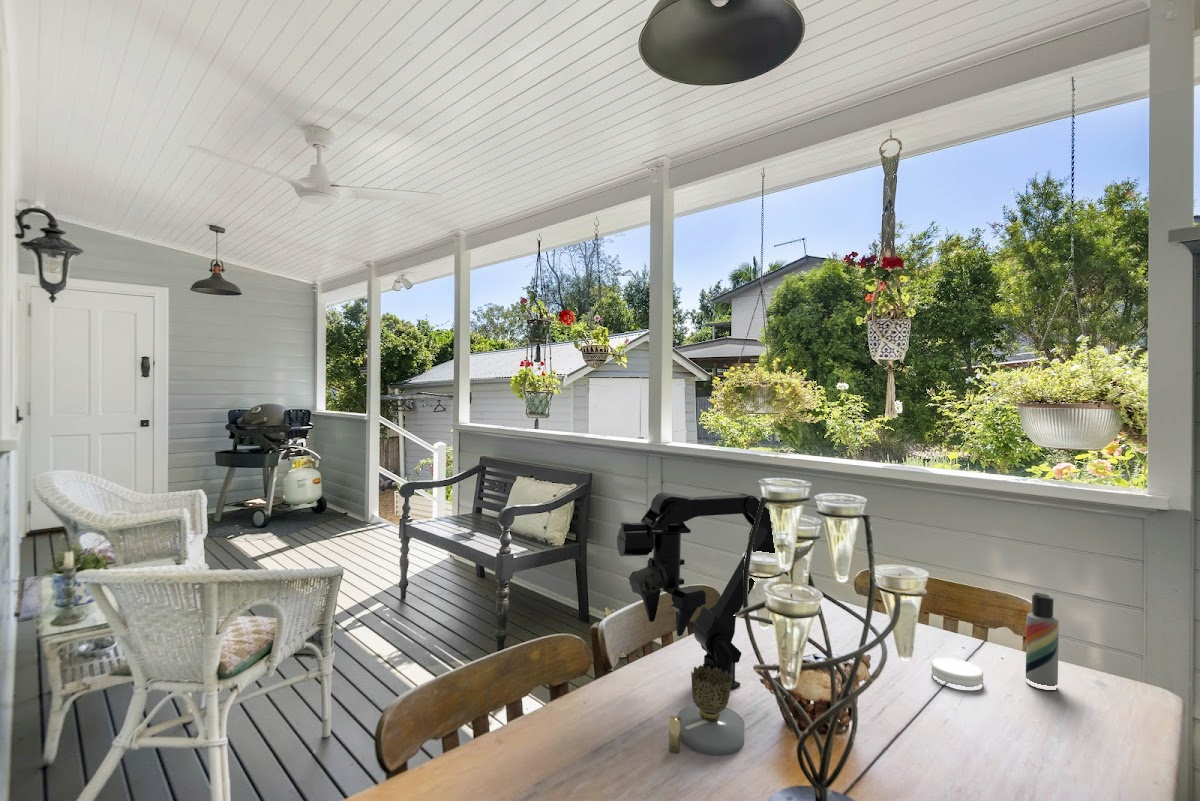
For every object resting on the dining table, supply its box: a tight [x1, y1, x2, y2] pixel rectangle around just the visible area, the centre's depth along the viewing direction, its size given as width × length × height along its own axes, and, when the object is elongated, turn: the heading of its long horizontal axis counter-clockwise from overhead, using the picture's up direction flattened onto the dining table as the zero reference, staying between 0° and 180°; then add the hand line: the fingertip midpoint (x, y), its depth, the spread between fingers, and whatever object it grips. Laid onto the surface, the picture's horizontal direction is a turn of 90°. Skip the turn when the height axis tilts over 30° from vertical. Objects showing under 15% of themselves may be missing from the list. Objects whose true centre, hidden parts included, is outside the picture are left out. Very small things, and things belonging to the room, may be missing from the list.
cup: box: [690, 664, 733, 721], centre depth 110 cm, size 8×7×8 cm
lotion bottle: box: [1025, 592, 1060, 686], centre depth 132 cm, size 6×6×20 cm
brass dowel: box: [668, 715, 681, 755], centre depth 104 cm, size 2×2×6 cm
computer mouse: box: [676, 703, 746, 757], centre depth 109 cm, size 12×12×3 cm
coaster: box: [930, 657, 984, 687], centre depth 134 cm, size 10×10×4 cm
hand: (665, 628), depth 126 cm, fingers open, 9 cm apart
